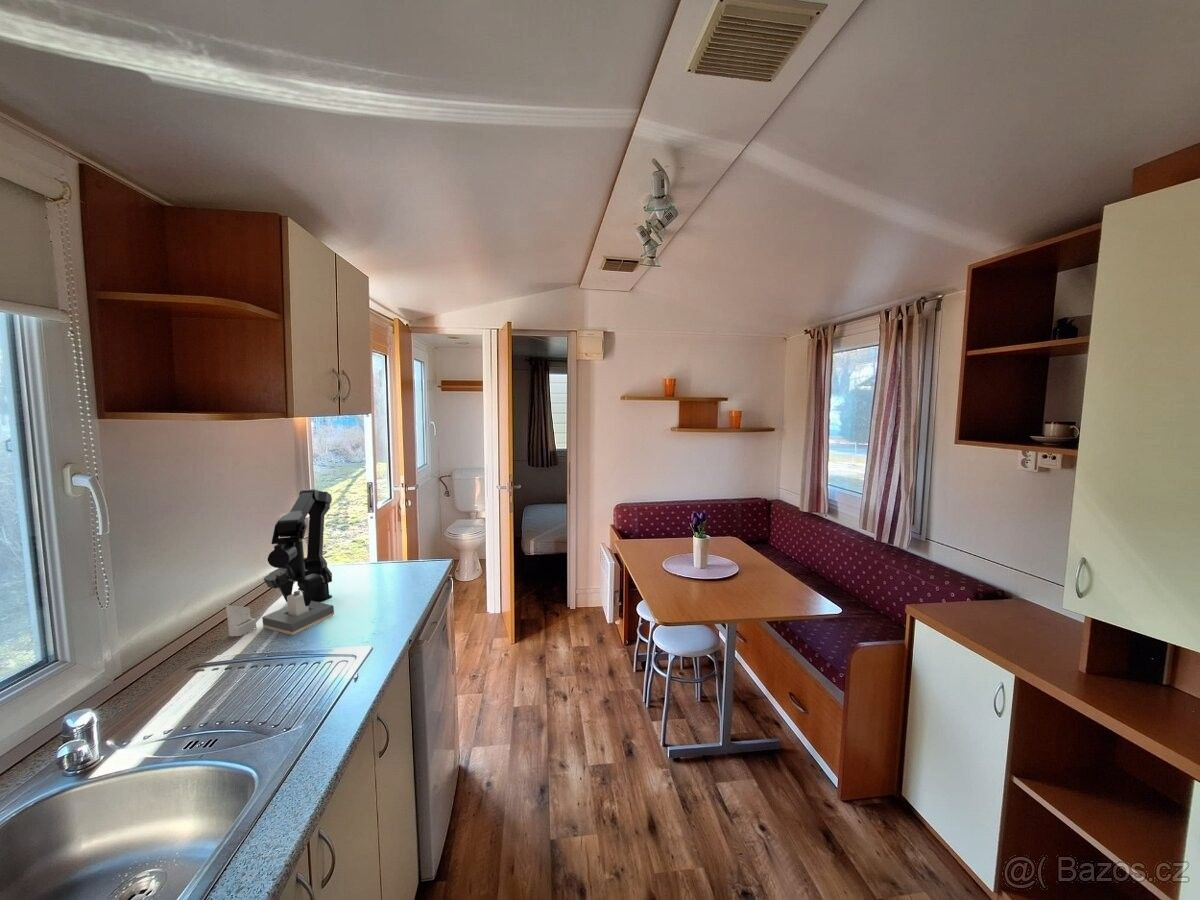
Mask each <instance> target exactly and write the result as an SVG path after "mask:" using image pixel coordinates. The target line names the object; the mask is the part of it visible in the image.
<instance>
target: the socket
mask: <svg viewBox="0 0 1200 900" xmlns="http://www.w3.org/2000/svg"><path fill="white" fill-rule="evenodd" d="M308 607H309V611H307V612H305V613H303V614H301V615H298V616H296V617H295V616H291V615H289V614H288V605H287V606H286V607H282V608H280V609H278V610H276V611H273V612H271V613H267V615H264V616H261V617H262V619H261V620H262V627H264V629H267V628H268V629H267V630H271V629H272V630H271V631H275V632H278V631H279V632H280V633H283V634H287V635H290V634H291V636H294V634H295V635H296V633H297V634H298V632H299V633H300V631H301V632H302V630H303V631H305V630H307V629H309V628H311V627H313V626H315V625H317V624H319V622H320V623H322V622H323V620H324V621H326V620H327V618H328V619H330V618H332V617H334V616H335V610H334V608H335V607H334V605H332V604H329V603H324V602H315V601H311V603H310V605H309V606H308ZM333 615H334V616H333ZM331 616H332V617H331ZM329 617H330V618H329ZM325 619H326V620H325ZM321 621H322V622H321ZM316 623H317V624H316ZM312 625H313V626H312ZM310 626H311V627H310ZM308 627H309V628H308ZM306 628H307V629H306ZM304 629H305V630H304Z"/></svg>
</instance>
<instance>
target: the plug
mask: <svg viewBox="0 0 1200 900" xmlns="http://www.w3.org/2000/svg"><path fill="white" fill-rule="evenodd" d="M286 603H287V606H288V614H289V615H291V616H295V617H296V616H298V615H301V614H303V613H305V612H307V611H309V607H308V606H305V603H304V598H303V593H302V591H300V590H295V591H293V593H292V594H291V595H289V596H287V602H286Z"/></svg>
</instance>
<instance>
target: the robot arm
mask: <svg viewBox="0 0 1200 900" xmlns="http://www.w3.org/2000/svg"><path fill="white" fill-rule="evenodd" d="M298 495H299V496H298V497H297V499H296V500H295V503H294V504H293V505H292V508H290V511H289V512H288V513H286V514H284V515H282V516H281V517H280V518H279V519H278V520H277V522H276V523H275V525H274V529H273V534H272V538H271V545H274V546H273V548H274V549H273V550H271V552H269V554H268V555H267V562H268V564H269V565H270V566H271V567H272V568H276V569H274V570H272V571H271V572H269V573H268V574H267V575H266V576H264V577H263V581H264V582H265V584H266V586H267V587H268V588H271V589H279V590H280V592H281V594H282V597H283V599H284V600H285V602H286V603H287V596H289V595H291V594H293V587H294V582H297V584H296V585H297V587H298V588H297V591H300V592H302V593H303V598H304V603H305V606H309V605H310V603H311V601H315V602H320V603H323V601H326V600H328V599H331V598H333V595H332V594H330V589H329V583H331V582H333V573H332V571H331V570H330V568H329V567H328V562H327V560H326V559H325V558H324V556H323V552H324V551H323V549H324V531H325V527H324V525H325V516H326V514H327V513H328V511H330V508H331V503H332V500H333V497H332V494H331V493H329V492H328V491H322V490H318V489H315V488H312V489H311V488H310V489H302V490H300V491H299V493H298ZM307 516H309V518H308V519H309V520H308V525H307V524H306V521H305V520H306V517H307ZM307 526H308V534H307V535H308V536H307V539H308V540H307V553H306V554H307V555H306V557H305V553H304V542H303V539H304V538H305V535H306V531H307Z"/></svg>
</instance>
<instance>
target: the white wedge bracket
mask: <svg viewBox="0 0 1200 900" xmlns="http://www.w3.org/2000/svg"><path fill="white" fill-rule="evenodd" d="M250 608H251V607H249V606H242V605H241V606H239V605H232V604H229V605H228V604H226V605H225V609H226V617H227V625H228V635H229V637H233V636H241V635H242V634H244V633H246V634H248V633H249V632H248V631H250V630H252V629H254V628H256V629H257V620H256V618H252V617H251V609H250ZM254 630H255V629H254ZM252 631H253V630H252ZM247 632H248V633H247ZM250 632H251V631H250ZM244 635H245V634H244ZM241 637H242V636H241Z"/></svg>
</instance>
